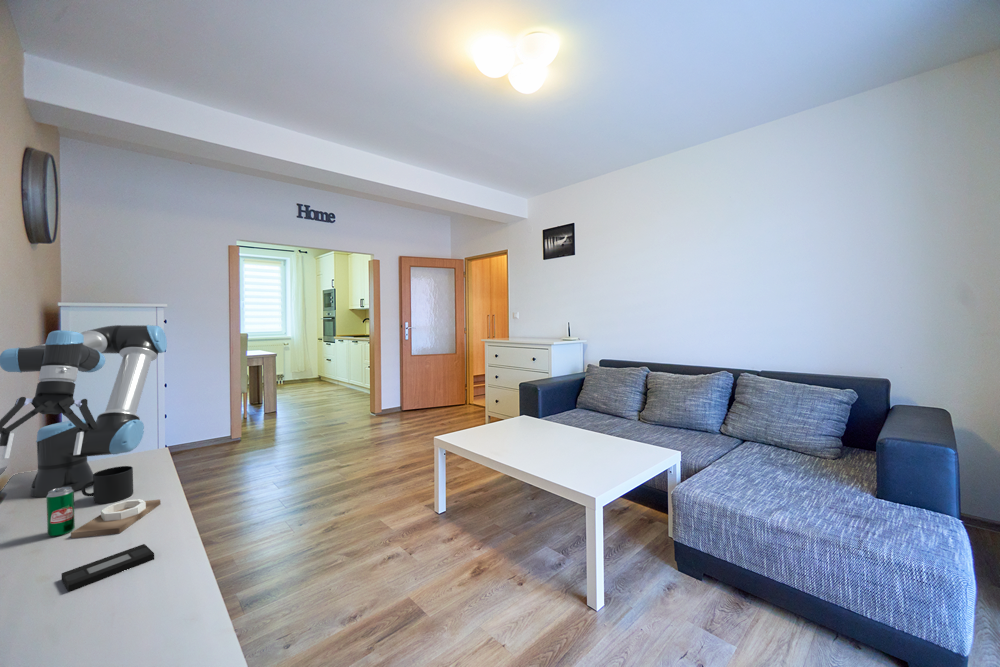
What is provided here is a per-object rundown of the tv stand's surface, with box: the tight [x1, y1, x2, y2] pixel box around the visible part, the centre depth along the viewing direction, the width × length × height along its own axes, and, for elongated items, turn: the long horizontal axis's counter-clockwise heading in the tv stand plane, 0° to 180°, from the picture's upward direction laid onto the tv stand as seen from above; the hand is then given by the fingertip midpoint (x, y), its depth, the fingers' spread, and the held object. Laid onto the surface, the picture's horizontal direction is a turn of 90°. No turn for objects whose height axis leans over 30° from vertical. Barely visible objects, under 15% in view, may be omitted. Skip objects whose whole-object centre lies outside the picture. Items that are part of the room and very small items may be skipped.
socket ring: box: [100, 498, 146, 521], centre depth 117 cm, size 9×9×2 cm
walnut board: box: [70, 499, 161, 539], centre depth 116 cm, size 18×11×2 cm, turn 13°
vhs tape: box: [61, 543, 155, 593], centre depth 92 cm, size 8×14×2 cm, turn 146°
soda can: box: [45, 487, 76, 537], centre depth 108 cm, size 5×5×12 cm
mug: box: [81, 465, 134, 505], centre depth 129 cm, size 9×12×9 cm
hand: (42, 456), depth 111 cm, fingers open, 13 cm apart
